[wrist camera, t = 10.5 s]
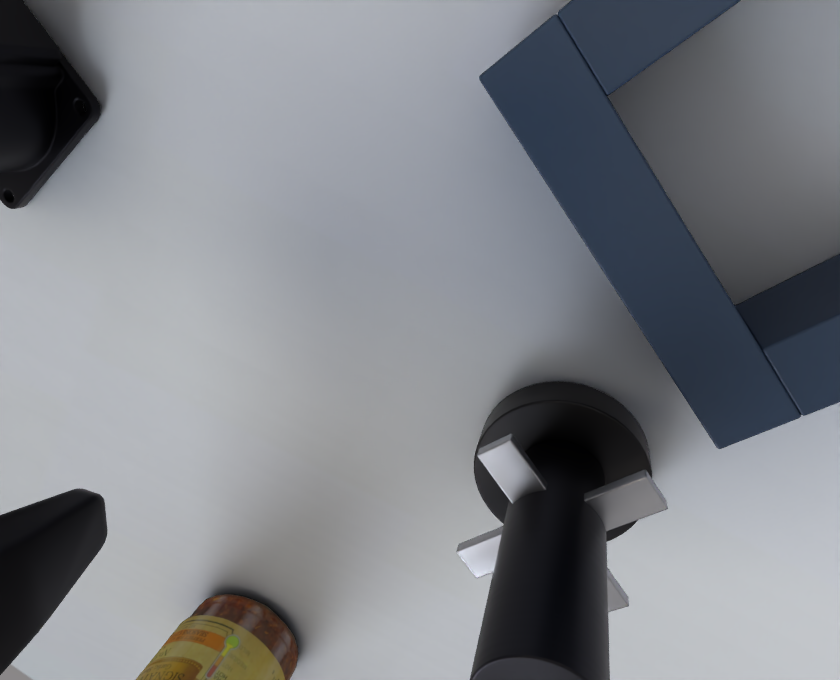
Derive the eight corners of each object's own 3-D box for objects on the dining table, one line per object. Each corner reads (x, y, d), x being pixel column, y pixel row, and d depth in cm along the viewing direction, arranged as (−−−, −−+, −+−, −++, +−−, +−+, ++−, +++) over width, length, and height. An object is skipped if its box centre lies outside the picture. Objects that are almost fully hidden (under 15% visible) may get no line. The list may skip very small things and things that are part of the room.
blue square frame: (698, 393, 19) (718, 450, 16) (498, 81, 17) (477, 77, 14) (1175, 182, 14) (1342, 205, 11) (965, -293, 12) (1092, -429, 9)
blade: (533, 549, 23) (495, 829, 14) (439, 421, 22) (334, 636, 13) (694, 490, 20) (770, 793, 11) (594, 340, 19) (593, 544, 10)
